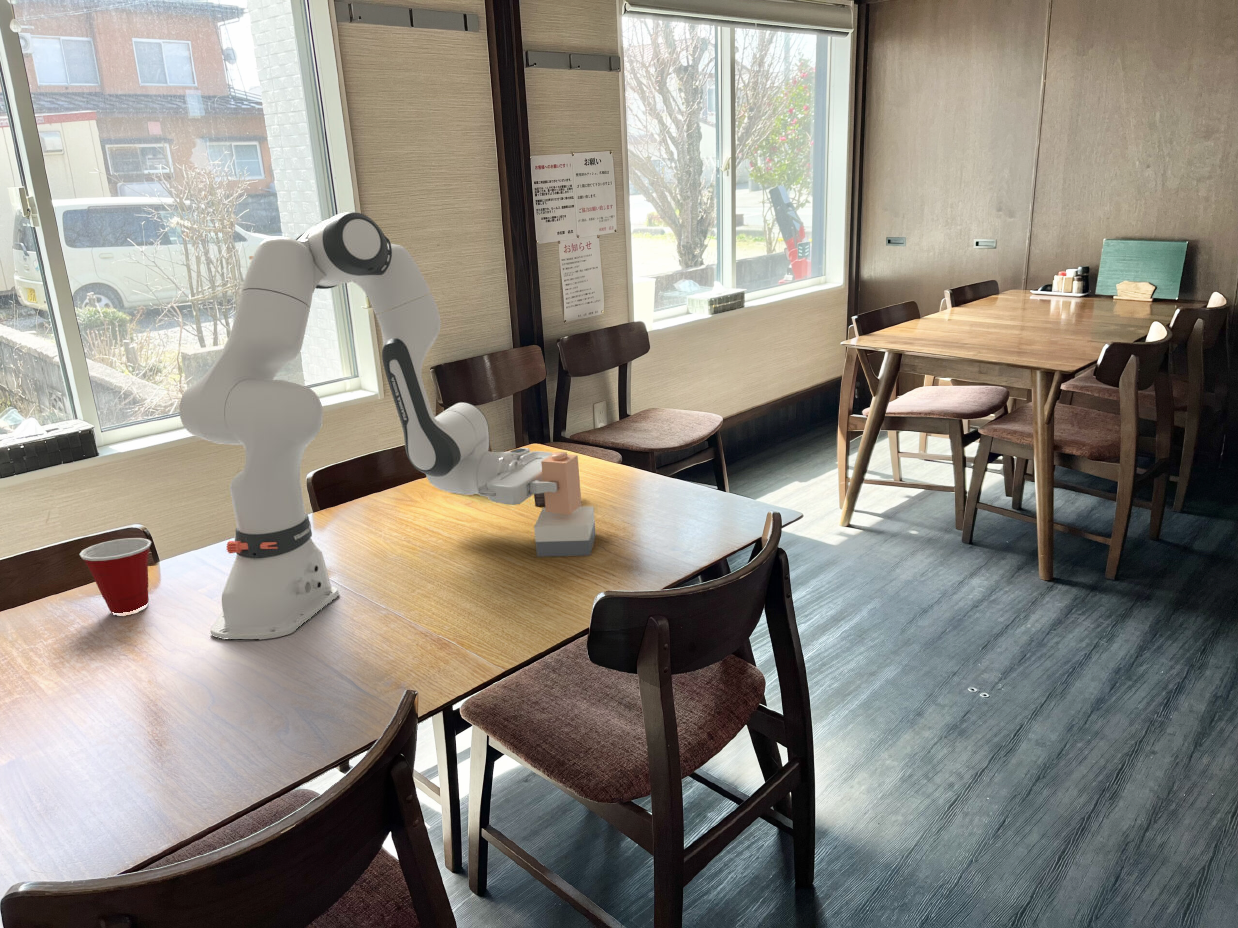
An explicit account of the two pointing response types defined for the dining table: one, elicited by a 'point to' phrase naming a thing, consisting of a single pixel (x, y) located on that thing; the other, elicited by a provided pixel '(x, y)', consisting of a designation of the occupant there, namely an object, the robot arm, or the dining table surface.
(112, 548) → the plastic cup
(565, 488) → the tall brick
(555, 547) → the tower base
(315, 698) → the dining table surface
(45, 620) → the dining table surface
